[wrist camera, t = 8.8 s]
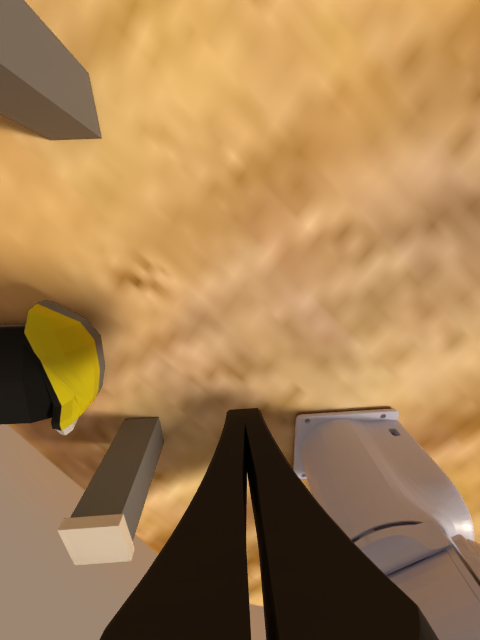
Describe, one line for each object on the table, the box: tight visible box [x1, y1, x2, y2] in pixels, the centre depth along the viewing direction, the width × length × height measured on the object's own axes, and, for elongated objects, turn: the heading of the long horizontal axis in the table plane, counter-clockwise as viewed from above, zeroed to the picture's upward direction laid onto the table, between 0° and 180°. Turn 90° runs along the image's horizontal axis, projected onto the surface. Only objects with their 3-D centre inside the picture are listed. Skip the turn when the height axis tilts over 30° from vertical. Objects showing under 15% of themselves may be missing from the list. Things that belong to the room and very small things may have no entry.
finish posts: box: [0, 0, 164, 565], centre depth 14 cm, size 3×27×9 cm, turn 2°
